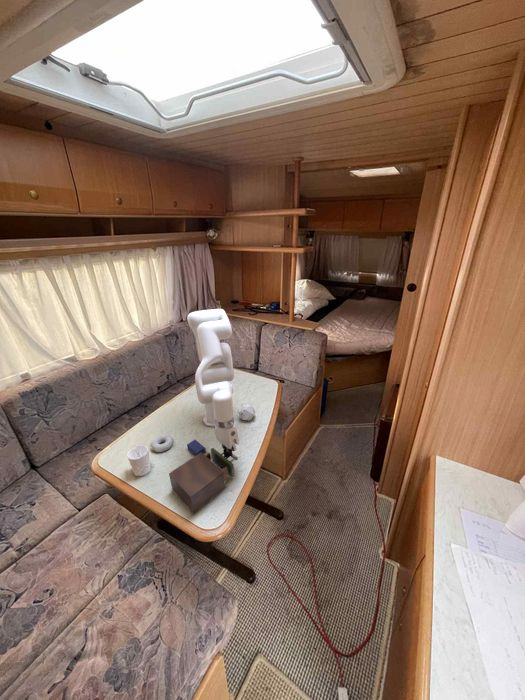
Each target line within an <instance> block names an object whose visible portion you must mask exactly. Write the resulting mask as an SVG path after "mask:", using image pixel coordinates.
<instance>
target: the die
mask: <svg viewBox="0 0 525 700" xmlns="http://www.w3.org/2000/svg"><path fill="white" fill-rule="evenodd" d="M255 413H256V410H255V408H254V406H253V404H249V403H242V404H241V405H240V407H239V410H238V411H237V415H238V416H239V418H240V420H242V421H252V420H253V417H254V415H255Z"/></svg>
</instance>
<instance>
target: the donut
mask: <svg viewBox="0 0 525 700" xmlns="http://www.w3.org/2000/svg"><path fill="white" fill-rule="evenodd" d="M173 443H174V438H173V437H172V436H171V435H169V434H159V435H158V436H156V437H155V438H153V439H152V441H151V444H150V448H151V450H153V451H154V452H155V453H162V452H166V451H167V450H169V449H170V448H171V447H172V446H173Z"/></svg>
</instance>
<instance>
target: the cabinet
mask: <svg viewBox="0 0 525 700" xmlns="http://www.w3.org/2000/svg"><path fill="white" fill-rule="evenodd" d="M205 455H206V454H205V453H204V454H203V453H202V452H201V453H199V454H198V455H196V456H195V455H194V456H193V457H191V458H190V459H188V460H187V461H186V462H184V463H182V464H181V465H179V466H178V467H176V468H175V469H173V470H172V471H170V472H169V473H168V477H169V482H170V485H171V489H172V491H173V492H174V494H175V495H176V496H177V497H178V498H179V500H180V501H182V502H183V504H184V505H185V506H186V507H187V509H189V511H190V512H191V513H192V514H196V513H197V512H198V511H199V510H201V509H202V508H203V507H204V506H206V504H208V503H209V502H210V501H211V500H213V499H214V498H215V497H216V496H217V495H219V494H220V493H221V492H222V491H224V490H225V489H226V481H225V479H224V471H223V470H222V469H221V468H220V467H219V466H217V465H216V464H215V463H214V462H213V461H212V459H211V460H210V459H209V458H207V457H206V456H205Z"/></svg>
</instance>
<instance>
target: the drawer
mask: <svg viewBox="0 0 525 700" xmlns="http://www.w3.org/2000/svg"><path fill="white" fill-rule="evenodd" d="M204 455H205V456H206V457H207V458H209V459H210V460H211V461H212V462H213V463H214V464H216V465H217V466H218V467H219V468H220V469H221V470H223V471H224V479H225V482H227V481H228V480H229V477H230V478H231V479H234V478H235V477H236V476H235V475H236V474H235V466H234V465H235V464H234V463H233V462H235V461H237V460H238V456H236V455H235V454H234V453H233V452H232V456H230V457H231V460H229V458H227V459H226V457H224V452H223V451H222V452H221V453H220V452H219V451H218V450H217V449H215V448H214V447H211V448H210V452H207V453H205V454H204Z"/></svg>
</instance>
